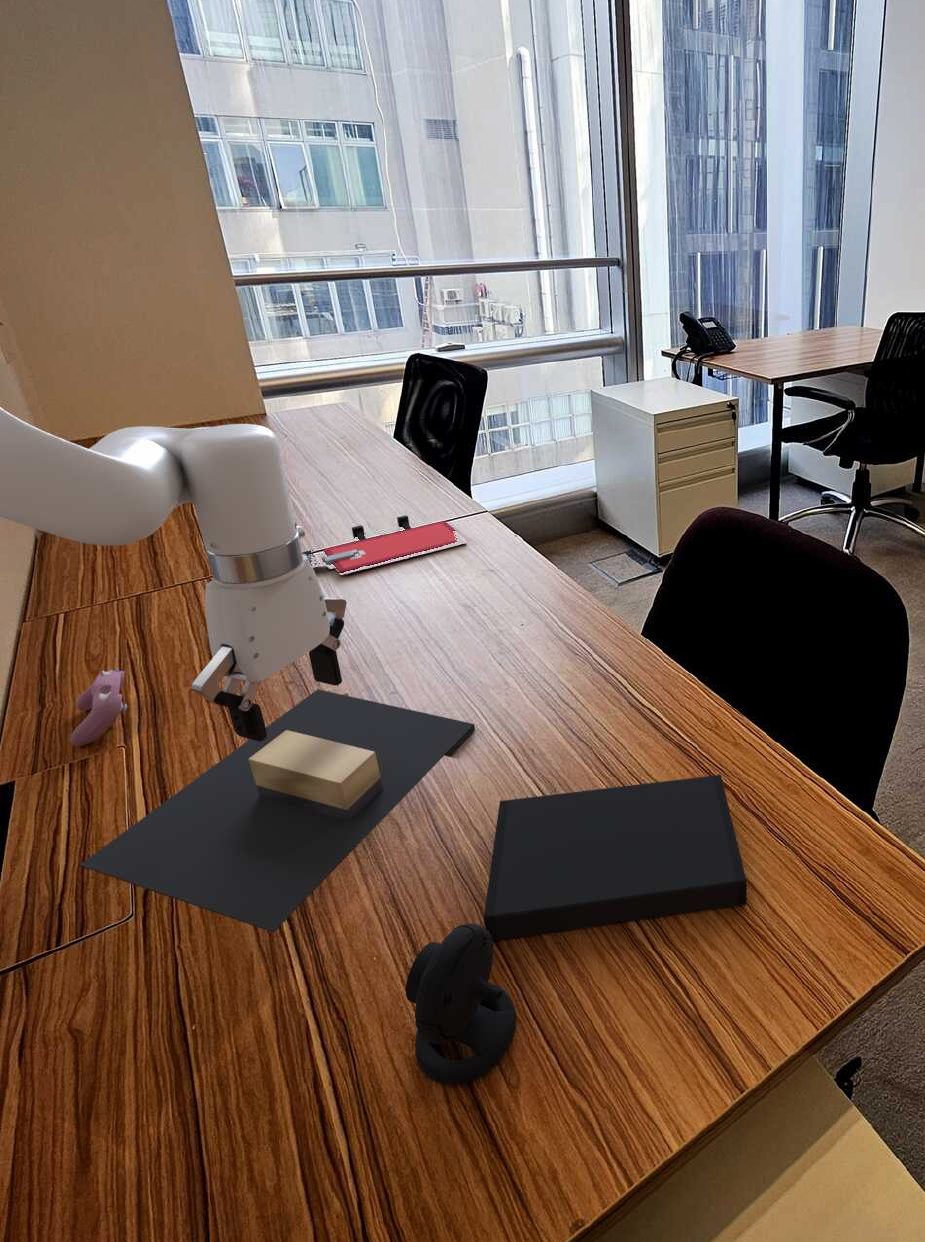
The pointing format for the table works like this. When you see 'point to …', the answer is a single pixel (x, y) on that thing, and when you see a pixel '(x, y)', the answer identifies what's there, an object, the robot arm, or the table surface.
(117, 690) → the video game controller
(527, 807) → the external hard drive
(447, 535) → the red board with handle
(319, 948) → the table surface
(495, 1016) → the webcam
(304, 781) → the eraser
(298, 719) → the desk mat
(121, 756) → the table surface
